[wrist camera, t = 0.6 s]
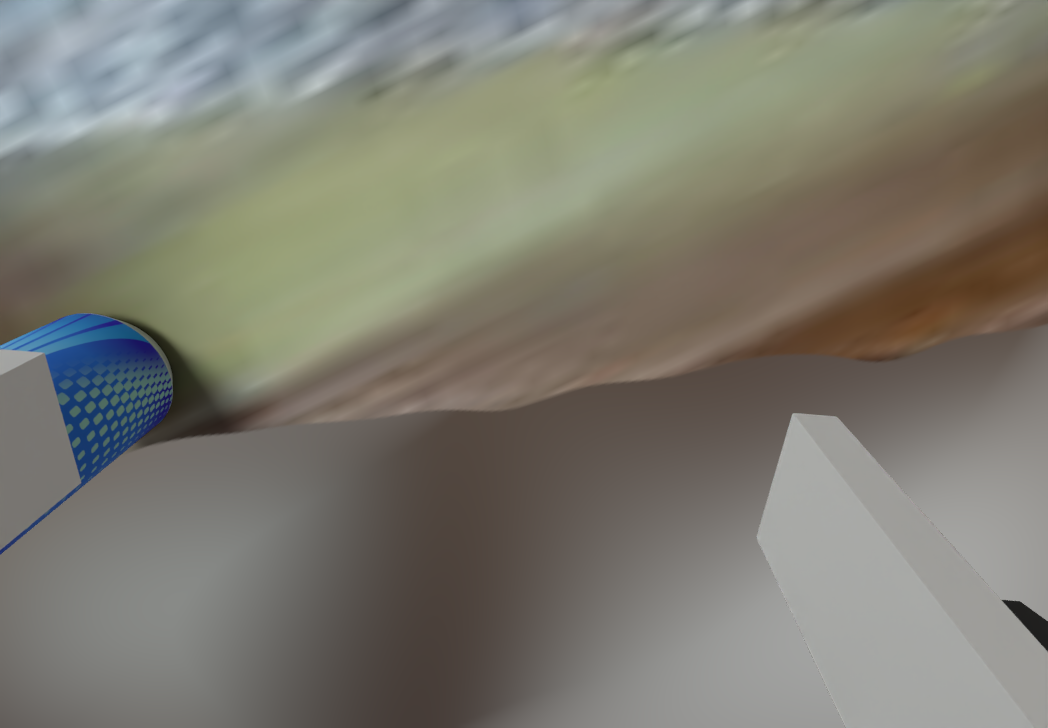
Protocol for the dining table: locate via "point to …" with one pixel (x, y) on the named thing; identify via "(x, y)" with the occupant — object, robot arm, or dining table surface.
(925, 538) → the robot arm
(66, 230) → the dining table surface
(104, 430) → the beer can
